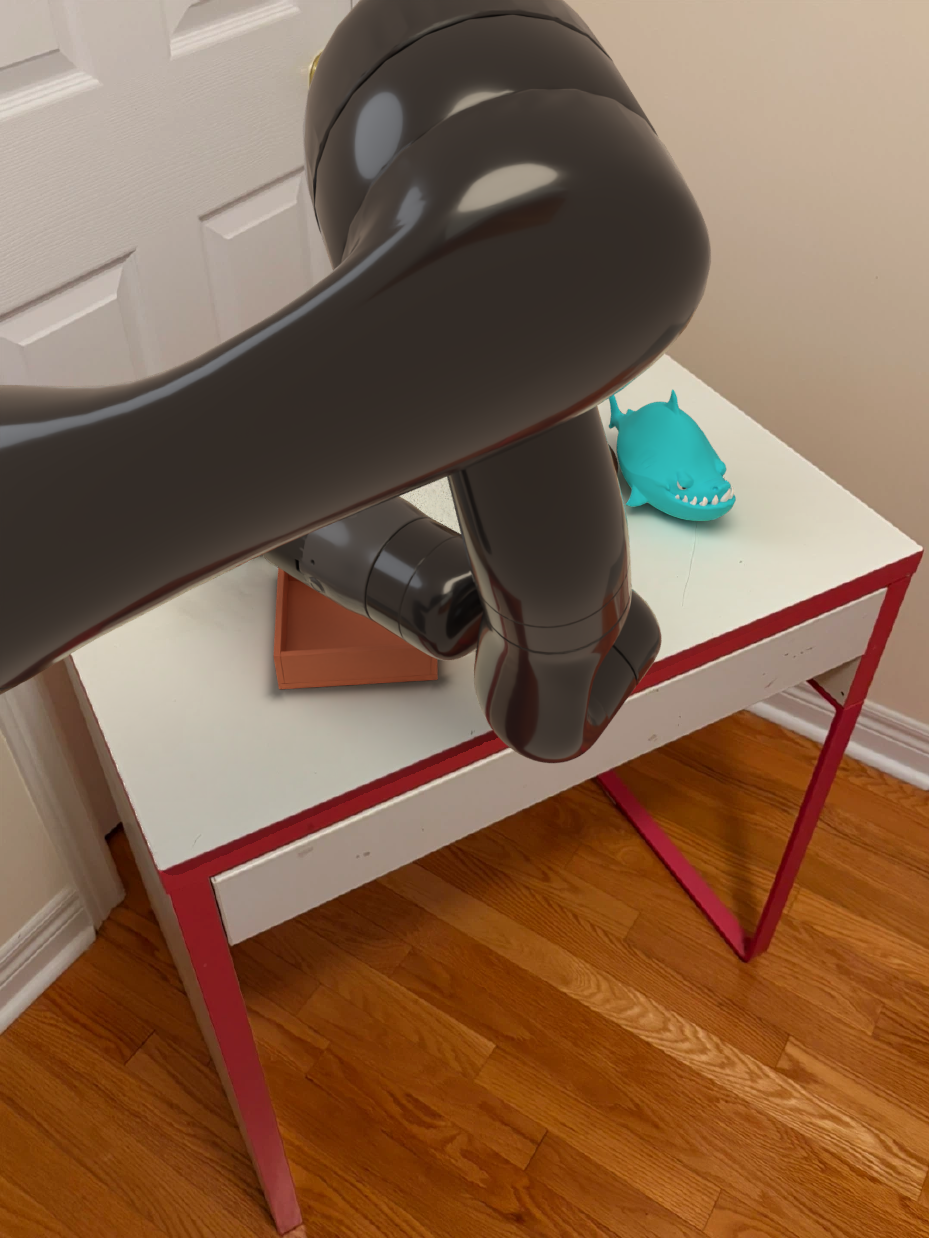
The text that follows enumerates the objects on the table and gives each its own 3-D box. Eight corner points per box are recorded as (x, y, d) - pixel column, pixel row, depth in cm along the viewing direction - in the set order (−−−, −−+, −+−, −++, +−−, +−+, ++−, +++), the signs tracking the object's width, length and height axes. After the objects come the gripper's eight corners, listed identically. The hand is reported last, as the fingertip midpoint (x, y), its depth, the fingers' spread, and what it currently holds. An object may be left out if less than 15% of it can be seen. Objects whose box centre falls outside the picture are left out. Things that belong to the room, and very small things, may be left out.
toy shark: (674, 563, 90) (695, 460, 82) (559, 456, 101) (567, 356, 94) (761, 528, 93) (789, 426, 86) (640, 428, 105) (655, 330, 97)
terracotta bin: (278, 689, 79) (273, 656, 76) (283, 582, 88) (278, 550, 85) (437, 679, 80) (437, 646, 77) (427, 575, 88) (426, 542, 86)
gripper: (427, 437, 65) (244, 347, 73) (254, 550, 57) (69, 436, 65) (429, 531, 71) (258, 438, 78) (270, 646, 63) (98, 530, 70)
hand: (173, 438), depth 72 cm, fingers closed on milkshake, 4 cm apart
